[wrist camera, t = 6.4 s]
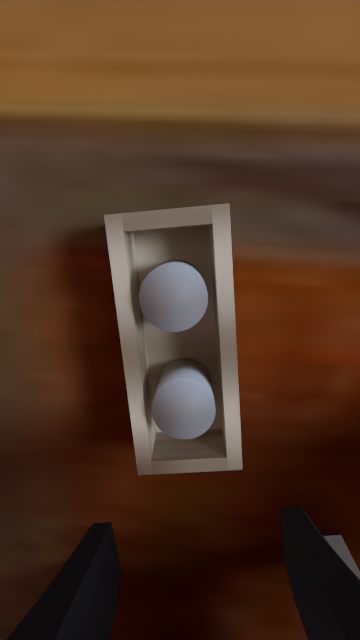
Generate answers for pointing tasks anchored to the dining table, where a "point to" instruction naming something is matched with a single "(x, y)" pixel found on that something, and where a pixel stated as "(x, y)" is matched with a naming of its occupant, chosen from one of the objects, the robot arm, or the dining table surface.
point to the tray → (178, 336)
